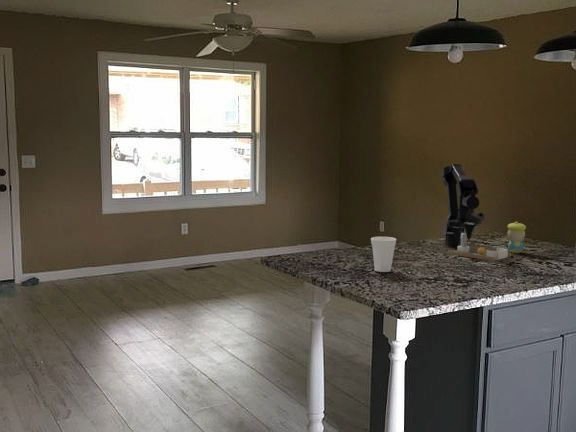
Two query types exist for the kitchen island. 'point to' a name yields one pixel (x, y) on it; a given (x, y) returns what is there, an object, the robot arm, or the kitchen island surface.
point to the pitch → (474, 254)
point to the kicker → (463, 243)
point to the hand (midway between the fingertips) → (463, 240)
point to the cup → (383, 252)
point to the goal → (498, 253)
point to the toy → (516, 237)
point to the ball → (481, 251)
